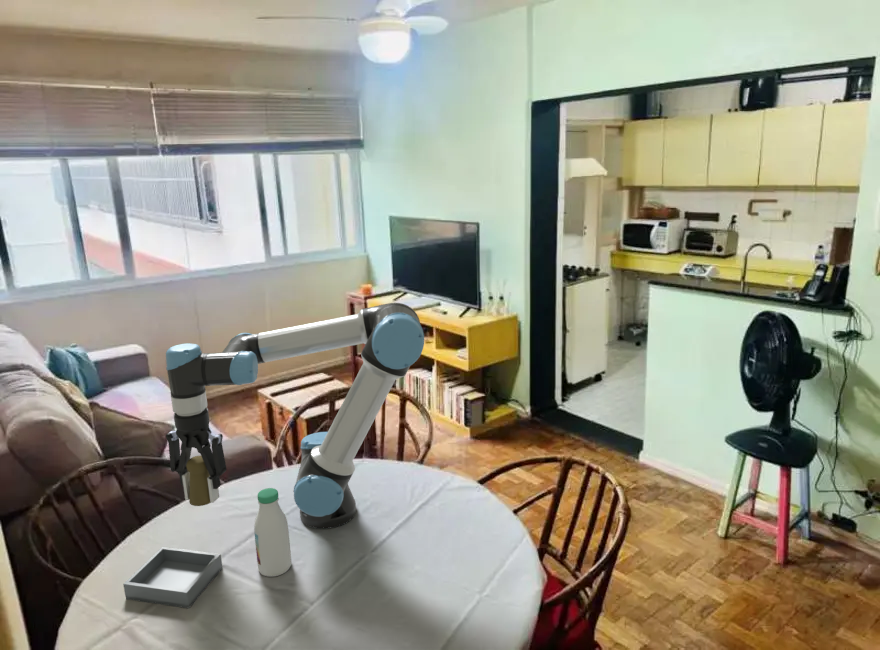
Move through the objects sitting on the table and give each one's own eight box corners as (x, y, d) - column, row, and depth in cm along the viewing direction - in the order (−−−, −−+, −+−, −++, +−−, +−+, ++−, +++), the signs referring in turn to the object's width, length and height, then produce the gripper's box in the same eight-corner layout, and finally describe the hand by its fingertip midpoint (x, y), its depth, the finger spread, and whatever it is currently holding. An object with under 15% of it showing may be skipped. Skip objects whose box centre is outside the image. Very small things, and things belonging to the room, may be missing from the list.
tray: (222, 568, 145) (220, 553, 144) (189, 608, 132) (186, 592, 131) (164, 560, 148) (162, 546, 147) (125, 599, 135) (123, 583, 134)
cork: (193, 493, 151) (188, 452, 148) (218, 492, 151) (213, 451, 148) (185, 506, 145) (180, 465, 142) (211, 505, 145) (206, 463, 142)
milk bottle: (297, 560, 148) (291, 486, 142) (279, 580, 141) (272, 503, 135) (270, 554, 150) (263, 481, 145) (251, 574, 143) (243, 498, 138)
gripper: (236, 406, 143) (246, 494, 149) (164, 401, 147) (177, 486, 153) (218, 419, 136) (229, 510, 142) (144, 413, 140) (157, 502, 146)
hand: (202, 498), depth 148 cm, fingers closed on cork, 6 cm apart
